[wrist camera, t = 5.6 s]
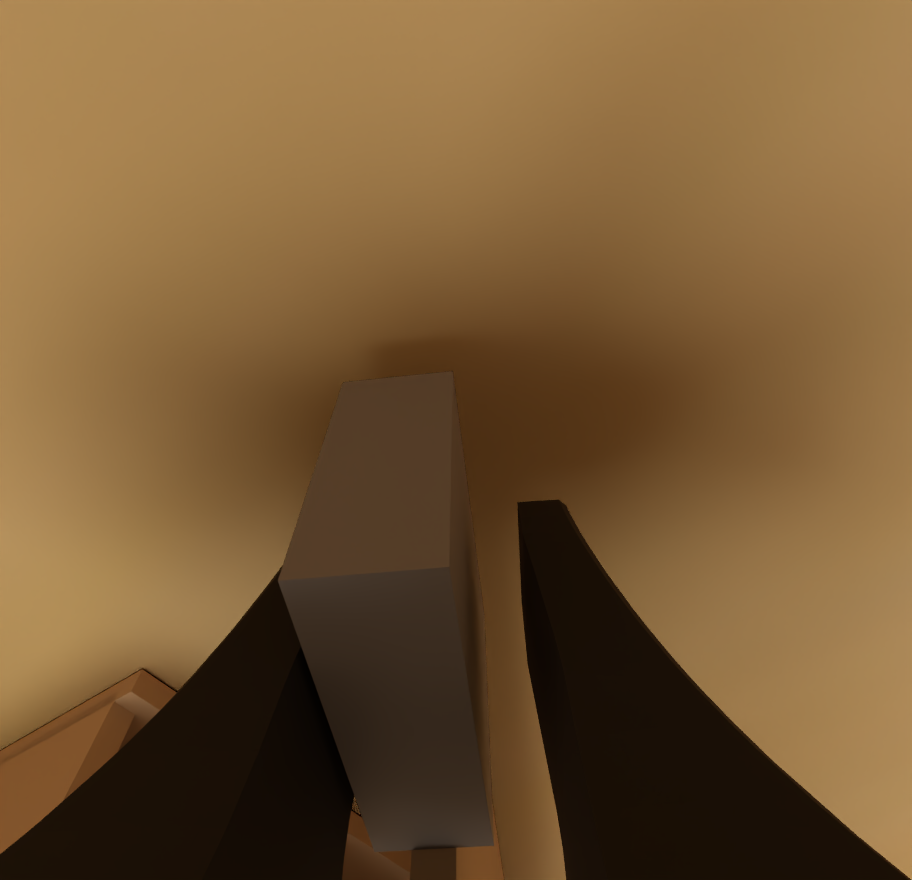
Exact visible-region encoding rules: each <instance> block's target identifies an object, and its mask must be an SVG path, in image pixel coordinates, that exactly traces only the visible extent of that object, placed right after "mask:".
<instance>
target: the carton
mask: <svg viewBox="0 0 912 880" xmlns="http://www.w3.org/2000/svg"><path fill="white" fill-rule="evenodd" d="M175 694H176V692H175V691H174V690H172V689H171V688H169V687H168V686H166V685H165V684H163V683H162V682H160V681H159V680H157V679H156V678H154V677H153V676H151V675H150V674H148V673H147V672H145V671H144V670H140V671H138V672H137V673H135V674H133V675H131V676H130V677H128V678H126V679H125V680H123V681H121V682H119V683H118V684H116V685H114V686H112V687H111V688H109V689H107V690H105V691H104V692H102V693H100V694H98V695H97V696H95V697H93V698H92V699H90V700H88V701H86V702H85V703H83V704H81V705H79V706H78V707H76V708H74V709H72V710H71V711H69V712H67V713H65V714H64V715H62V716H60V717H58V718H57V719H55V720H53V721H52V722H50V723H48V724H46V725H45V726H43V727H41V728H39V729H38V730H36V731H34V732H32V733H31V734H29V735H27V736H25V737H24V738H22V739H20V740H18V741H17V742H15V743H13V744H12V745H10V746H8V747H6V748H5V749H3V750H1V751H0V854H1V853H2V852H3V851H4V850H6V849H7V848H8V847H9V846H11V845H12V844H13V843H14V842H16V841H17V840H18V839H19V838H20V837H22V836H23V835H24V834H25V833H27V832H28V831H29V830H30V829H31V828H33V827H34V826H35V825H36V824H37V823H39V822H40V821H41V820H42V819H43V818H44V817H45V816H47V815H48V814H49V813H50V812H51V811H52V810H53V809H54V808H56V807H57V806H58V805H59V804H60V803H61V802H62V801H63V800H65V799H66V798H67V797H68V796H69V795H70V794H71V793H72V792H74V791H75V790H76V789H77V788H78V787H79V786H80V785H82V784H83V783H84V782H85V781H86V780H87V779H88V778H89V777H91V776H92V775H93V774H94V773H95V772H96V771H97V770H98V769H100V768H101V767H102V766H103V765H104V764H105V763H106V762H107V761H108V760H109V759H110V758H112V757H113V756H114V755H115V754H116V753H117V752H118V751H119V750H120V749H121V748H122V747H123V746H124V745H125V744H127V743H128V742H129V741H130V740H131V739H132V738H133V737H134V736H135V735H136V734H137V733H138V732H139V731H140V730H141V729H142V728H143V727H144V726H145V725H146V724H147V723H148V722H149V721H150V720H151V719H152V718H153V717H154V716H155V715H156V714H157V713H158V712H159V711H160V710H161V709H162V708H163V707H164V705H165V704H166V703H167V702H168V701H169V700H170V699H171V698H172V697H173V696H174V695H175ZM411 852H412V851H410V850H405V851H387V852H374V849H373V846H372V844H371V841H370V838H369V835H368V832H367V830H366V827H365V824H364V821H363V818H362V817H360V816H359V815H357V814H356V813H354V812H353V811H351V815H350V820H349V827H348V834H347V841H346V848H345V855H344V864H343V874H342V880H410V869H411Z"/></svg>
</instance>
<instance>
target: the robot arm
mask: <svg viewBox="0 0 912 880" xmlns="http://www.w3.org/2000/svg"><path fill="white" fill-rule="evenodd" d="M517 504H518V527H519V550H520V573H521V596H522V609H523V620H524V630H525V641H526V651H527V661H528V668H529V673H530V678H531V683H532V688H533V693H534V698H535V703H536V709H537V714H538V719H539V724H540V729H541V734H542V739H543V744H544V749H545V754H546V759H547V764H548V769H549V774H550V779H551V784H552V789H553V794H554V799H555V804H556V809H557V815H558V821H559V827H560V833H561V840H562V846H563V854H564V862H565V871H566V880H911V879H910V878H908V877H907V876H906V875H905V874H904V873H902V872H901V871H900V870H899V869H897V868H896V867H895V866H894V865H892V864H891V863H890V862H889V861H888V860H886V859H885V858H884V857H883V856H881V855H880V854H879V853H878V852H877V851H875V850H874V849H873V848H872V847H870V846H869V845H868V844H867V843H866V842H864V841H863V840H862V839H861V838H859V837H858V836H857V835H856V834H855V833H854V832H852V831H851V830H850V829H849V828H848V827H847V826H846V825H845V824H843V823H842V822H841V821H840V820H839V819H838V818H837V817H836V816H834V815H833V814H832V813H831V812H830V811H829V810H828V809H826V808H825V807H824V806H823V805H822V804H821V803H820V802H819V801H817V800H816V799H815V798H814V797H813V796H812V795H811V794H810V793H808V792H807V791H806V790H805V789H804V788H803V787H802V786H801V785H799V784H798V783H797V782H796V781H795V780H794V779H793V778H791V777H790V776H789V775H788V774H787V773H786V772H785V771H784V770H782V769H781V768H780V767H779V766H778V765H777V764H776V763H775V762H773V761H772V760H771V759H770V758H769V757H768V756H767V755H766V754H765V753H764V752H763V751H762V750H761V749H760V748H759V747H758V746H757V745H756V744H755V743H754V742H753V741H752V740H751V739H750V738H749V737H748V736H747V735H746V734H745V733H744V732H743V731H741V730H740V729H739V728H738V727H737V726H736V725H735V724H734V723H733V722H732V721H731V720H730V719H729V718H728V717H727V716H726V715H725V714H724V713H723V711H722V710H721V709H720V708H719V707H718V706H717V705H716V704H715V703H714V702H713V701H712V700H711V699H710V698H709V697H708V696H707V695H706V694H705V693H704V692H703V691H702V690H701V689H700V687H699V686H698V685H697V684H696V683H695V682H694V681H693V680H692V679H691V678H690V677H689V675H688V674H687V673H686V672H685V671H684V670H683V669H682V668H681V666H680V665H679V664H678V663H677V662H676V661H675V660H674V658H673V657H672V656H671V655H670V654H669V653H668V651H667V650H666V649H665V648H664V647H663V645H662V644H661V643H660V642H659V641H658V639H657V638H656V637H655V636H654V635H653V633H652V632H651V631H650V630H649V629H648V627H647V626H646V625H645V624H644V622H643V621H642V620H641V618H640V617H639V616H638V615H637V613H636V612H635V611H634V610H633V608H632V607H631V606H630V604H629V603H628V601H627V600H626V599H625V597H624V596H623V595H622V593H621V592H620V591H619V589H618V588H617V587H616V585H615V584H614V582H613V581H612V580H611V578H610V577H609V576H608V574H607V573H606V571H605V570H604V568H603V567H602V565H601V564H600V563H599V561H598V559H597V558H596V556H595V555H594V553H593V552H592V550H591V549H590V547H589V546H588V544H587V542H586V541H585V539H584V538H583V536H582V534H581V533H580V531H579V529H578V527H577V526H576V524H575V522H574V520H573V518H572V516H571V515H570V513H569V511H568V508H567V506H566V505H565V504H564V503H562V502H561V501H560V500H546V501H531V502H517ZM282 567H283V566H282ZM282 567H281V568H280V570H279V571H278V572H277V574H276V575H275V576H274V578H273V579H272V580H271V582H270V583H269V584H268V585H267V587H266V588H265V589H264V591H263V592H262V593H261V594H260V596H259V597H258V598H257V599H256V601H255V602H254V603H253V604H252V606H251V607H250V608H249V610H248V611H247V612H246V613H245V615H244V616H243V617H242V618H241V620H240V621H239V622H238V623H237V625H236V626H235V627H234V628H233V629H232V631H231V632H230V633H229V634H228V635H227V636H226V638H225V639H224V640H223V641H222V642H221V643H220V645H219V646H218V647H217V648H216V649H215V650H214V651H213V653H212V654H211V655H210V656H209V657H208V658H207V659H206V661H205V662H204V663H203V664H202V665H201V666H200V668H199V669H198V670H197V671H196V672H195V673H194V674H193V676H192V677H191V678H190V679H189V680H188V681H187V682H186V683H185V684H184V685H183V686H182V688H181V689H180V690H179V691H178V692H177V693H176V694H175V695H174V696H173V697H172V698H171V699H170V700H169V701H168V702H167V703H166V704H165V705H164V707H163V708H162V709H161V710H160V711H159V712H158V713H157V714H156V715H155V716H154V717H153V718H152V719H151V720H150V721H149V722H148V723H147V724H146V725H145V726H144V727H143V728H142V729H141V730H140V731H139V732H138V733H137V734H136V735H135V736H134V737H133V738H132V739H131V740H130V741H129V742H128V743H127V744H125V745H124V746H123V747H122V748H121V749H120V750H119V751H118V752H117V753H116V754H115V755H114V756H113V757H112V758H110V759H109V760H108V761H107V762H106V763H105V764H104V765H103V766H102V767H101V768H100V769H98V770H97V771H96V772H95V773H94V774H93V775H92V776H91V777H89V778H88V779H87V780H86V781H85V782H84V783H83V784H82V785H80V786H79V787H78V788H77V789H76V790H75V791H74V792H72V793H71V794H70V795H69V796H68V797H67V798H66V799H65V800H63V801H62V802H61V803H60V804H59V805H58V806H57V807H56V808H54V809H53V810H52V811H51V812H50V813H49V814H48V815H47V816H45V817H44V818H43V819H42V820H41V821H40V822H39V823H37V824H36V825H35V826H34V827H33V828H31V829H30V830H29V831H28V832H27V833H25V834H24V835H23V836H22V837H20V838H19V839H18V840H17V841H16V842H14V843H13V844H12V845H11V846H9V847H8V848H7V849H6V850H4V851H3V852H2V853H1V854H0V880H342V874H343V864H344V855H345V848H346V841H347V834H348V827H349V820H350V815H351V809H352V804H353V799H354V793H353V790H352V787H351V785H350V782H349V779H348V776H347V773H346V771H345V768H344V765H343V762H342V759H341V757H340V754H339V751H338V748H337V745H336V743H335V740H334V737H333V734H332V731H331V729H330V726H329V723H328V720H327V717H326V714H325V712H324V709H323V706H322V703H321V700H320V698H319V695H318V692H317V689H316V686H315V684H314V681H313V678H312V675H311V672H310V670H309V667H308V664H307V661H306V658H305V656H304V653H303V650H302V647H301V644H300V642H299V639H298V636H297V633H296V630H295V628H294V625H293V622H292V619H291V616H290V613H289V611H288V608H287V605H286V602H285V599H284V597H283V594H282V591H281V588H280V585H279V583H278V579H279V576H280V573H281V570H282Z"/></svg>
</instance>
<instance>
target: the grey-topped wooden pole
mask: <svg viewBox="0 0 912 880" xmlns="http://www.w3.org/2000/svg"><path fill="white" fill-rule="evenodd" d="M278 583H279V585H280V588H281V591H282V594H283V597H284V599H285V602H286V605H287V608H288V611H289V613H290V616H291V619H292V622H293V625H294V628H295V630H296V633H297V636H298V639H299V642H300V644H301V647H302V650H303V653H304V656H305V658H306V661H307V664H308V667H309V670H310V672H311V675H312V678H313V681H314V684H315V686H316V689H317V692H318V695H319V698H320V700H321V703H322V706H323V709H324V712H325V714H326V717H327V720H328V723H329V726H330V729H331V731H332V734H333V737H334V740H335V743H336V745H337V748H338V751H339V754H340V757H341V759H342V762H343V765H344V768H345V771H346V773H347V776H348V779H349V782H350V785H351V787H352V790H353V793H354V796H355V799H356V801H357V804H358V807H359V810H360V813H361V815H362V818H363V821H364V824H365V827H366V830H367V832H368V835H369V838H370V841H371V844H372V846H373V849H374V852H387V851H405V850H412V852H411V869H410V880H504V876H503V869H502V862H501V856H500V849H499V843H498V836H497V830H496V823H495V817H494V810H493V804H492V785H491V761H490V738H489V714H488V691H487V667H486V643H485V620H484V609H483V601H482V593H481V585H480V578H479V570H478V562H477V554H476V547H475V539H474V531H473V523H472V516H471V508H470V500H469V492H468V485H467V477H466V469H465V461H464V453H463V446H462V438H461V430H460V422H459V415H458V407H457V399H456V391H455V384H454V376H453V371H448V372H438V373H428V374H418V375H408V376H398V377H389V378H379V379H369V380H359V381H349V382H343V383H342V386H341V389H340V393H339V396H338V399H337V402H336V405H335V408H334V411H333V414H332V417H331V420H330V423H329V426H328V429H327V432H326V435H325V438H324V441H323V444H322V447H321V451H320V454H319V457H318V460H317V463H316V466H315V469H314V472H313V475H312V478H311V481H310V484H309V487H308V490H307V493H306V496H305V499H304V502H303V506H302V509H301V512H300V515H299V518H298V521H297V524H296V527H295V530H294V533H293V536H292V539H291V542H290V545H289V548H288V551H287V554H286V557H285V560H284V564H283V567H282V570H281V573H280V576H279V579H278Z"/></svg>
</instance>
